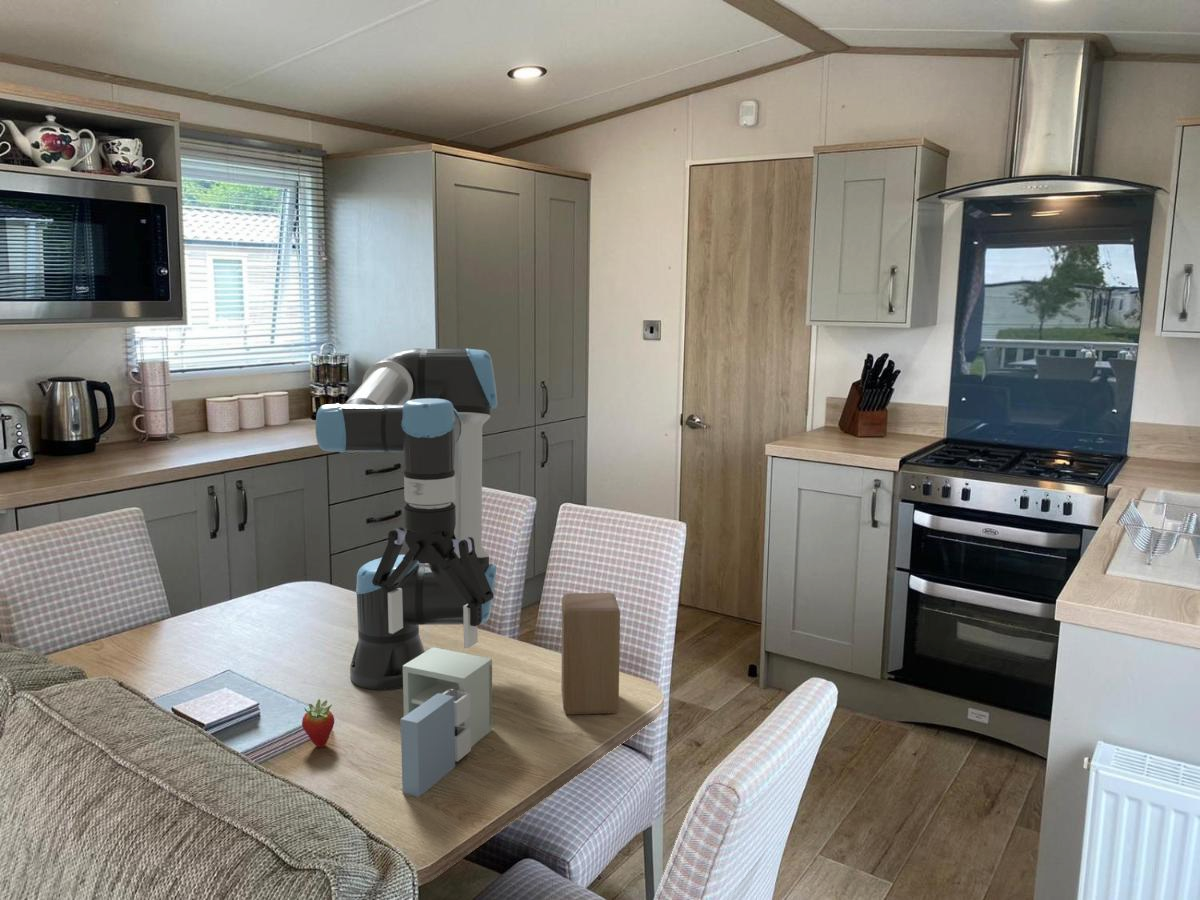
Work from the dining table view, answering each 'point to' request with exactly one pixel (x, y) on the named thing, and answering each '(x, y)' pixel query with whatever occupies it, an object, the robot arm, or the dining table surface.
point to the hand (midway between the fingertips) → (432, 637)
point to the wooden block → (590, 653)
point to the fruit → (318, 723)
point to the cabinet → (451, 684)
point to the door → (433, 740)
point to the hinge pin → (454, 693)
